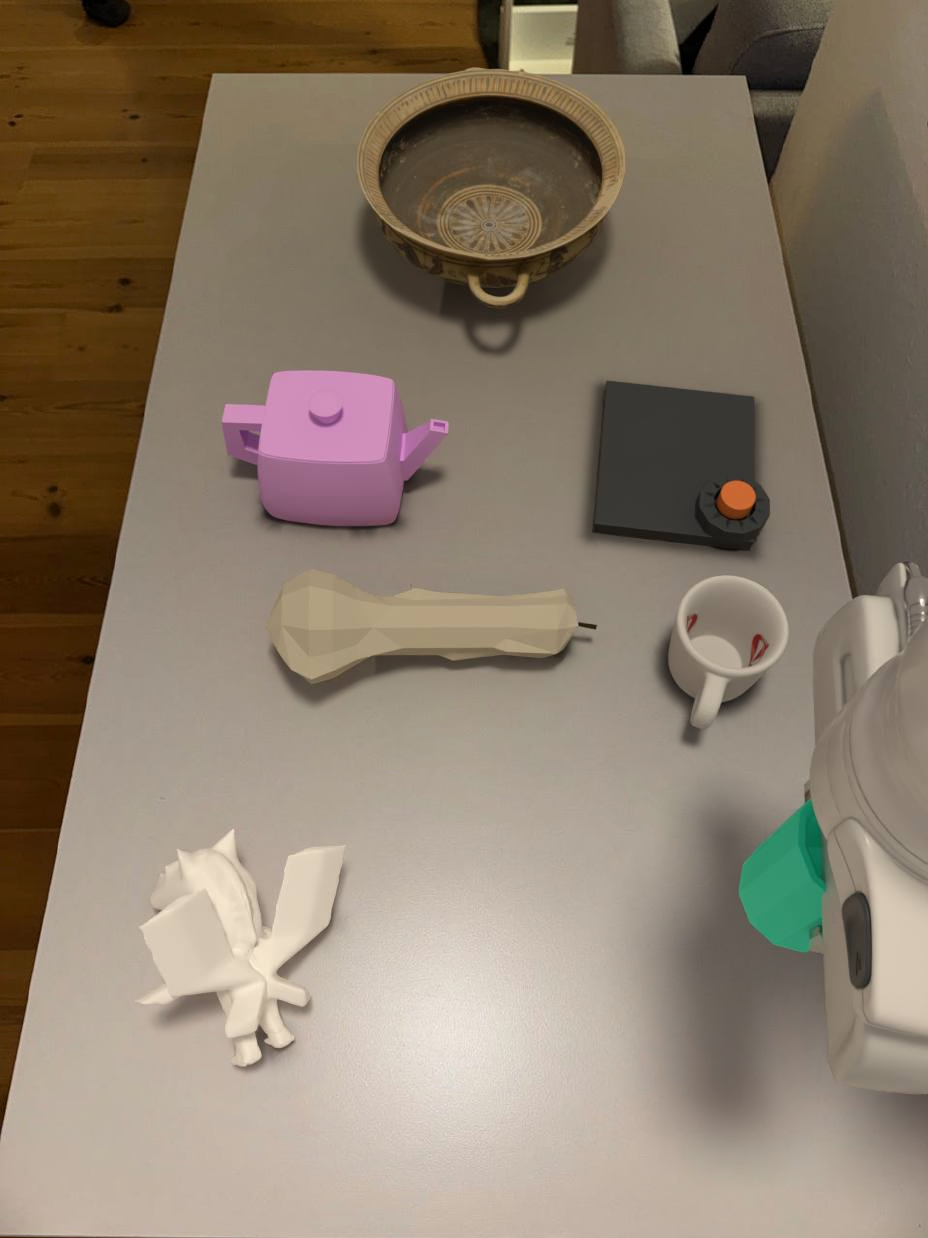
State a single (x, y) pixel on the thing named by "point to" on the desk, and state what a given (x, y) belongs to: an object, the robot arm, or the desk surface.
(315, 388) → the teapot
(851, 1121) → the desk surface
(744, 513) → the button
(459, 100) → the ceramic bowl
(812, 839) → the candle
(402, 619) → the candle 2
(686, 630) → the cup
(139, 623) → the desk surface
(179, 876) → the figurine
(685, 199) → the desk surface
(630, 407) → the scale
